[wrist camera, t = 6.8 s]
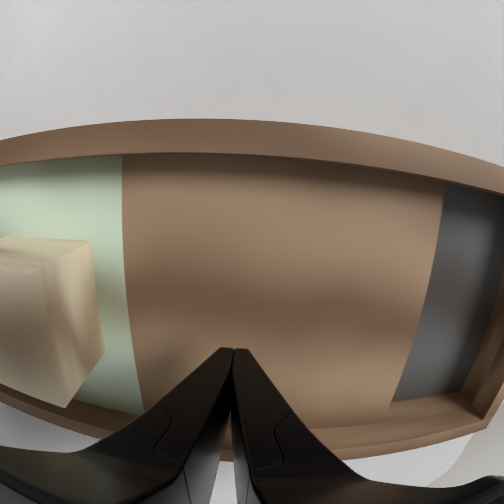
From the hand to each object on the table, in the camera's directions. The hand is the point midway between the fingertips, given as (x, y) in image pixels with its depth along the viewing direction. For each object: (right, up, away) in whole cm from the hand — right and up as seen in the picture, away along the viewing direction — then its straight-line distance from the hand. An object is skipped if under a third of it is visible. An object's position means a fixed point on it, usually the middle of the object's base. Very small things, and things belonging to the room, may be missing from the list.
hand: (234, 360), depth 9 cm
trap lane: (-2, +1, +5) cm, 5 cm away
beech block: (-8, +1, +3) cm, 9 cm away
